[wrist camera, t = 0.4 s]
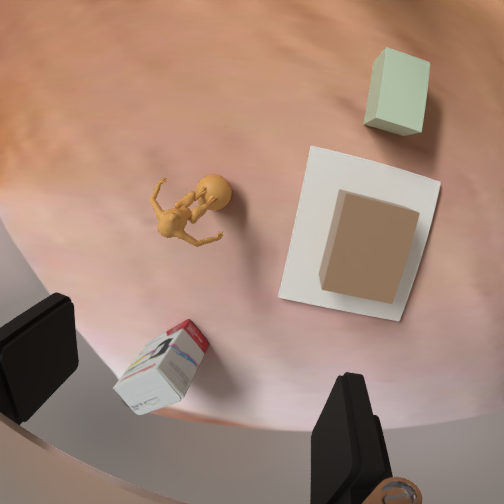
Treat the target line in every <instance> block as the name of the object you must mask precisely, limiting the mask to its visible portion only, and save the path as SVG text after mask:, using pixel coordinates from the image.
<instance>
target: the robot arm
mask: <svg viewBox="0 0 504 504" xmlns="http://www.w3.org/2000/svg"><path fill="white" fill-rule="evenodd" d="M78 361H79V360H78V351H77V341H76V330H75V315H74V305H73V303H72V302H71V299H70V298H69V297H68V296H65V295H62V294H60V293H54V294H52V295H50V296H49V297H47V298H46V299H44V300H42V301H41V302H39V303H38V304H36V305H34V306H33V307H31V308H30V309H28V310H27V311H25V312H24V313H22V314H20V315H19V316H17V317H16V318H14V319H13V320H11V321H10V322H9V323H7V324H5V325H4V326H2V327H1V328H0V504H188V503H185V502H182V501H179V500H175V499H172V498H169V497H166V496H163V495H160V494H157V493H154V492H151V491H149V490H146V489H144V488H141V487H138V486H136V485H133V484H131V483H128V482H126V481H123V480H121V479H118V478H116V477H114V476H111V475H109V474H107V473H105V472H102V471H100V470H98V469H96V468H94V467H92V466H90V465H88V464H86V463H84V462H82V461H80V460H78V459H76V458H74V457H72V456H70V455H68V454H66V453H64V452H62V451H61V450H59V449H57V448H55V447H54V446H52V445H50V444H48V443H47V442H45V441H43V440H42V439H40V438H38V437H37V436H35V435H33V434H32V433H30V432H29V431H27V430H26V429H24V428H22V427H21V426H19V425H20V424H21V423H22V422H26V421H27V420H29V418H30V417H31V416H32V415H33V414H34V413H35V412H36V411H37V410H38V409H39V408H40V407H41V406H42V404H43V403H45V401H46V400H47V399H48V398H49V397H50V396H51V395H52V394H53V393H54V392H55V391H56V390H57V389H58V388H59V387H60V386H61V384H63V382H65V381H66V380H67V378H68V377H69V376H70V375H71V374H72V373H73V372H74V371H75V370H76V369H77V367H78ZM310 502H311V503H310V504H422V495H421V492H420V490H419V488H418V487H417V486H416V485H415V484H414V483H413V482H411V481H409V480H407V479H405V478H400V477H393V476H392V472H391V467H390V462H389V457H388V453H387V449H386V444H385V440H384V436H383V432H382V427H381V423H380V420H379V417H378V416H377V415H373V412H372V408H371V404H370V400H369V396H368V392H367V388H366V384H365V380H364V377H363V375H361V374H355V373H349V372H346V373H345V374H344V375H343V376H340V375H339V376H338V377H337V379H336V382H335V384H334V386H333V388H332V391H331V393H330V395H329V397H328V400H327V402H326V404H325V406H324V408H323V410H322V413H321V415H320V417H319V419H318V421H317V423H316V425H315V427H314V429H313V432H312V436H311V500H310Z"/></svg>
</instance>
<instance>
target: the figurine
mask: <svg viewBox="0 0 504 504" xmlns="http://www.w3.org/2000/svg"><path fill="white" fill-rule="evenodd" d="M166 179H167V178H163V179H162V180H160V181H159V182H158V184H157V186H156V187H155V190H154V193H153V195H152V196H151V198H150V203H151V205H152V207H153V209H154V211H155V213H156V216H157V218H158V226H157V227H158V231H159V233H160V234H161V235H162V236H164V237H167V238H170V237H177V238H179V239H183V240H185V241H186V242H188V243H190V244H192V245H194V246H197V247H198V246H202V245H204V244H207V243H211V242H213V241H217V240H220V239H221V238H222V236H223V234H222V233H223V232H222V233H221V234H222V235H221V234H220V235H219V233H220V232H218V234H217V236H216V237H211V238H207V239H204V240H199V241H197V240H196V239H194V238H193V237H192V236H190V235H189V234H187V233H186V232H185V231H184V228H185V226H186V224H187V220H189V221H190V222H191V223H192V224H194V223H196V221H197V220H198V219H199V218H200V217H201V216H203V215H204V214H205V212H206V211H207V209H208V210H219V209H221V208H223V207H225V206H226V205H227V204H228V202H229V201H230V199H231V194H232V190H231V186H230V184H229V182H228V181H227V180H226V179H225V178H223V177H222V176H219V175H209V176H206V177H204V178H203V179H202V180H201V181H200V182H199V183H198V185H197V188H196V193H195V192H194V191H191V192H190V193H189V194H187V195H185V196H184V197H183V198H182V199H181V200H180V201H178V202H176V203H175V208H172V209H169V210H166V211H163V210H162V209H161V207H160V206H159V204H158V203H157V201H156V200H155V199H156V197H157V194H158V193H159V190H160V186H161V184H162V183H164V182H166V181H165V180H166ZM196 200H198V202H199V204H200V206H196V207H195V208H194V209H193V210H192V212H191V211H190V209H189V208H187V207H188V206H190V205H191V204H192V203H193V202H194V201H196Z"/></svg>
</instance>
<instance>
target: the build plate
mask: <svg viewBox="0 0 504 504" xmlns="http://www.w3.org/2000/svg"><path fill="white" fill-rule="evenodd" d="M440 184H441V182H439V181H436V180H433V179H430V178H427V177H424V176H421V175H418V174H415V173H412V172H409V171H405V170H402V169H399V168H396V167H392V166H389V165H385V164H382V163H378V162H375V161H371V160H367V159H364V158H360V157H356V156H352V155H348V154H344V153H340V152H336V151H332V150H328V149H323V148H319V147H315V146H310V150H309V155H308V160H307V165H306V170H305V175H304V180H303V185H302V190H301V195H300V199H299V204H298V209H297V213H296V218H295V223H294V227H293V232H292V236H291V241H290V245H289V250H288V254H287V259H286V263H285V267H284V272H283V276H282V280H281V285H280V289H279V293H278V298H283V299H288V300H292V301H297V302H302V303H307V304H312V305H316V306H321V307H326V308H331V309H336V310H341V311H346V312H352V313H357V314H362V315H367V316H373V317H378V318H383V319H389V320H394V321H400V318H401V316H402V313H403V310H404V308H405V305H406V302H407V299H408V297H409V294H410V291H411V288H412V285H413V282H414V279H415V276H416V273H417V270H418V267H419V264H420V261H421V257H422V254H423V251H424V247H425V244H426V240H427V237H428V233H429V230H430V226H431V222H432V218H433V214H434V210H435V206H436V202H437V198H438V193H439V189H440Z"/></svg>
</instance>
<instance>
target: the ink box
mask: <svg viewBox="0 0 504 504" xmlns="http://www.w3.org/2000/svg"><path fill="white" fill-rule="evenodd" d="M208 346H209V342H208V341H207V340H206V338H205V337H204V336H203V335H202V333H201V332H200V331H199V330H198V328H197V327H196V326H195V325H194V324H193V323H192V322H191V320H189V319H188V320H186V321H184V322H183V323H181V324H179V325H177V326H175V327H174V328H172V329H170V330H168V331H167V332H165V333H163V334H161V335H159V336H158V337H156V338H154V339H152V340H150V341H149V342H148V343H147V344H146V346H145V347H144V348H143V350H142V351H141V352H140V353H139V355H138V356H137V357H136V359H135V360H134V361H133V363H132V364H131V365H130V367H129V368H128V369H127V370H126V372H125V373H124V374H123V376H122V377H121V378H120V380H119V381H118V382H117V383H116V385H115V386H114V387H113V389H114V390H115V391H116V393H117V394H118V395H119V396H120V397H121V398H122V399H123V400H124V401H125V402H126V403H127V405H128V406H129V407H130V408H131V409H132V410H133V411H134V412H135V413H136V414H137V415H142V414H145V413H149V412H151V411H153V410H157V409H160V408H162V407H165V406H168V405H171V404H173V403H177V402H179V401H180V400H181V399H182V398H184V396H185V394H186V392H187V390H188V388H189V386H190V384H191V382H192V380H193V377H194V375H195V373H196V371H197V369H198V367H199V365H200V363H201V361H202V359H203V357H204V354H205V352H206V350H207V348H208Z"/></svg>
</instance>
